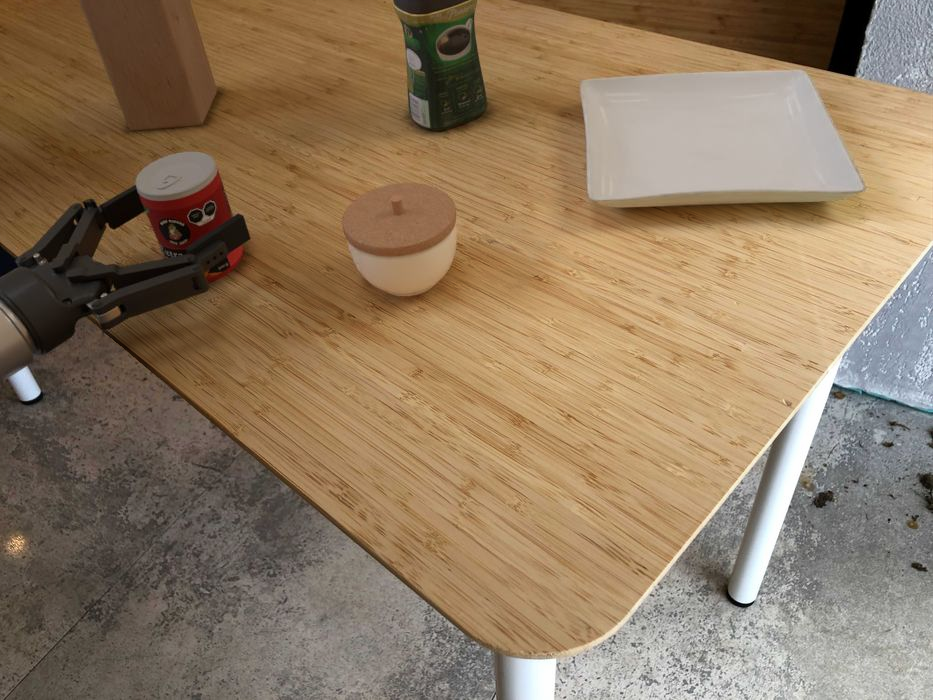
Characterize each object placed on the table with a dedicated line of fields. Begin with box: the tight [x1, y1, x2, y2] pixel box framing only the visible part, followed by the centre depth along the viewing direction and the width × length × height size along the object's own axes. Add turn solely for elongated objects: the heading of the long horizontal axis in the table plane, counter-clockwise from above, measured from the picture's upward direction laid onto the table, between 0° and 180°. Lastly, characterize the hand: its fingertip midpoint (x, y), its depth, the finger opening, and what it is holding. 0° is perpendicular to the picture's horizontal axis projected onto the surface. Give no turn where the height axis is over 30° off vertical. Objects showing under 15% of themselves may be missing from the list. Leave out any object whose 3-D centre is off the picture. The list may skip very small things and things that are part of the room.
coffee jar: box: [392, 0, 488, 132], centre depth 102 cm, size 10×8×19 cm
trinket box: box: [341, 182, 458, 297], centre depth 81 cm, size 11×11×9 cm
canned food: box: [134, 151, 244, 284], centre depth 85 cm, size 8×8×11 cm
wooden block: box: [78, 0, 218, 132], centre depth 109 cm, size 10×10×20 cm
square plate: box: [579, 69, 867, 208], centre depth 95 cm, size 27×27×4 cm
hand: (200, 205), depth 85 cm, fingers open, 13 cm apart
